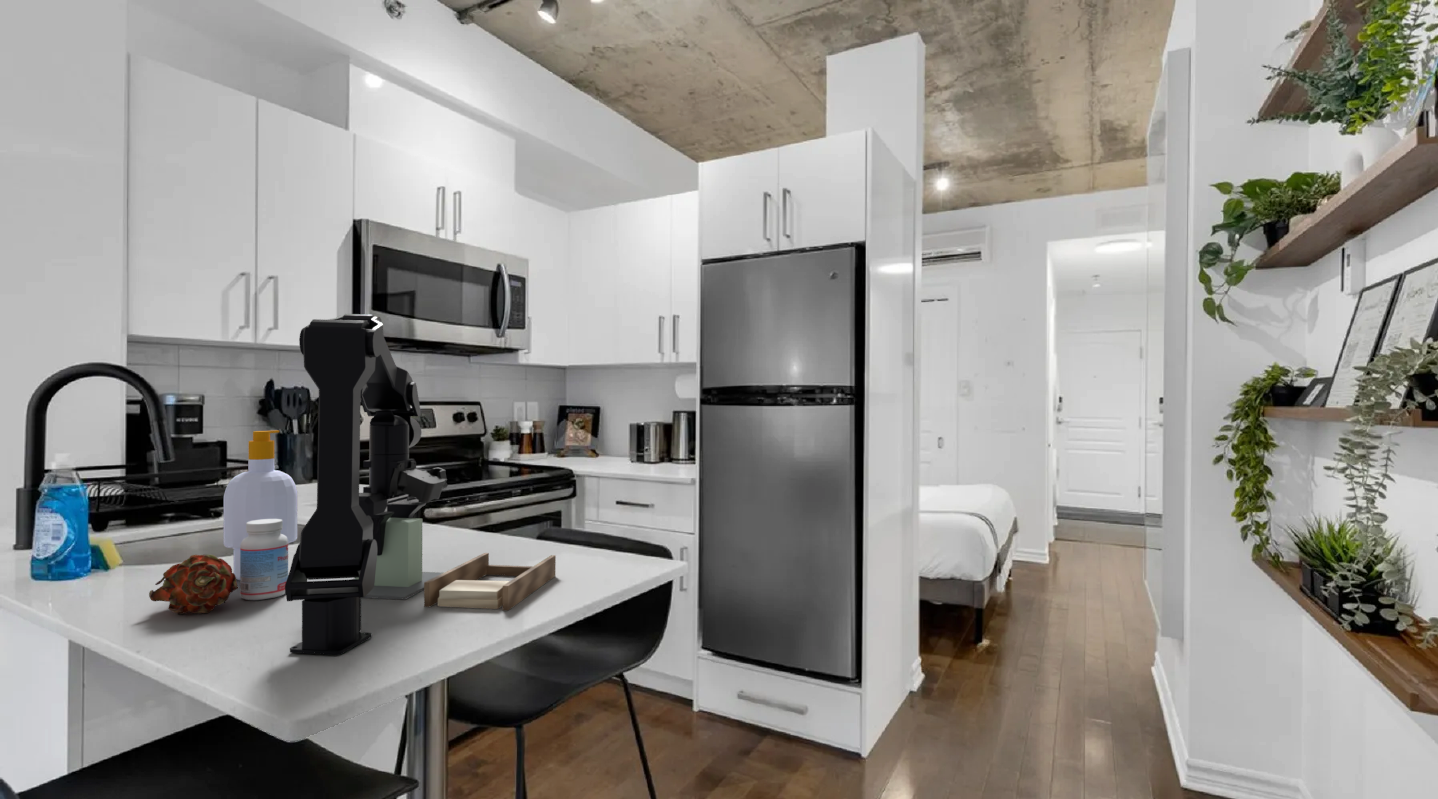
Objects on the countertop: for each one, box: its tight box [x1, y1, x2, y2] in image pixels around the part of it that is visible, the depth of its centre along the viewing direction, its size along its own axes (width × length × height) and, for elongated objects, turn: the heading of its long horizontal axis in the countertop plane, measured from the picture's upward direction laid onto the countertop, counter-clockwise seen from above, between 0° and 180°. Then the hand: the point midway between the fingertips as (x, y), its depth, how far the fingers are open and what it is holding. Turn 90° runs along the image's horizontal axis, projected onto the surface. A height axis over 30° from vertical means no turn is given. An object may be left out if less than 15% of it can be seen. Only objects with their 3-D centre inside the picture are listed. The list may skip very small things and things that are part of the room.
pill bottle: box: [239, 519, 289, 601], centre depth 105 cm, size 6×6×11 cm
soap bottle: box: [223, 429, 298, 581], centre depth 116 cm, size 10×10×24 cm
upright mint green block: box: [355, 517, 423, 587], centre depth 111 cm, size 4×9×10 cm, turn 83°
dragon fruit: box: [148, 554, 239, 615], centre depth 98 cm, size 8×8×12 cm
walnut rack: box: [423, 552, 557, 612], centre depth 109 cm, size 19×13×4 cm, turn 173°
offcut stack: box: [437, 579, 510, 610], centre depth 103 cm, size 6×9×2 cm
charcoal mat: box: [353, 571, 444, 600], centre depth 111 cm, size 14×14×1 cm
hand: (389, 551), depth 111 cm, fingers open, 5 cm apart
